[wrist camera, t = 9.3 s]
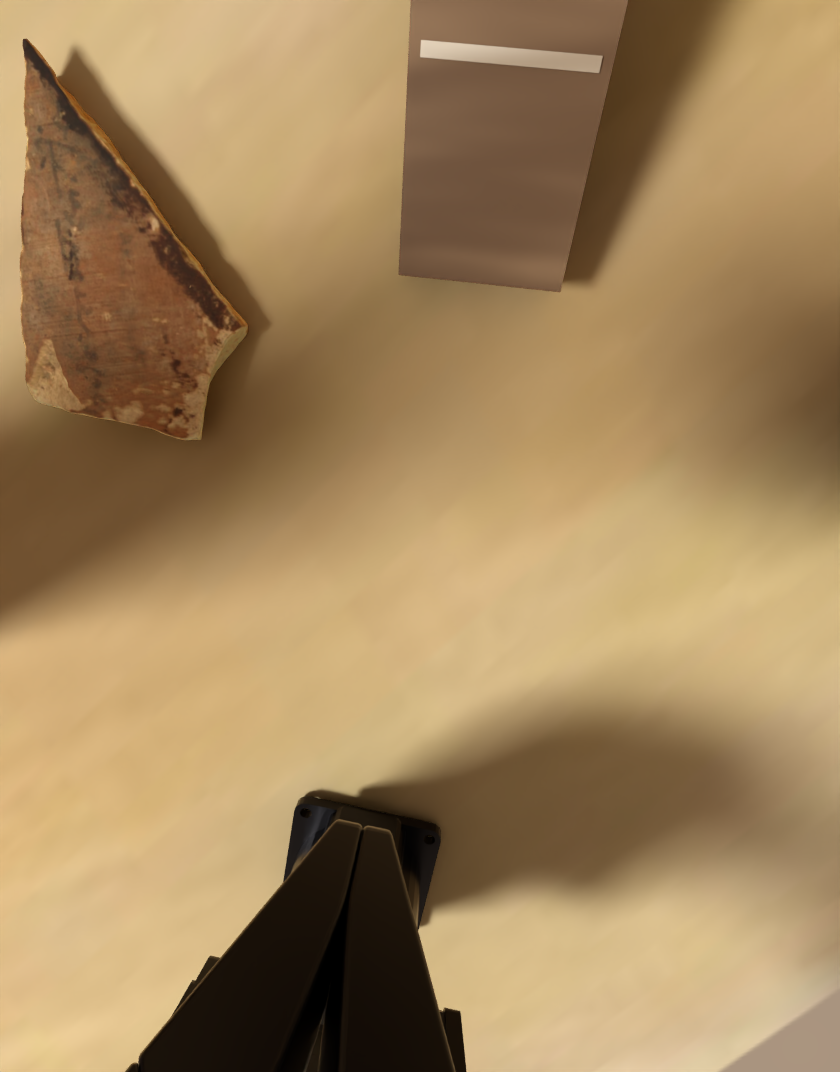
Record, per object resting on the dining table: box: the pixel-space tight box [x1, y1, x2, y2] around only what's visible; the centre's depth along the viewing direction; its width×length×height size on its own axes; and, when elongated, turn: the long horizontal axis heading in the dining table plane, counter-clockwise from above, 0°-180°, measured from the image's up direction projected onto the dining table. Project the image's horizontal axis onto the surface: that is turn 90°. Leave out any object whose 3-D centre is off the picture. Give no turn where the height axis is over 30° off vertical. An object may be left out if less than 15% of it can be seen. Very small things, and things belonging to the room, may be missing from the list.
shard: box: [20, 39, 248, 441], centre depth 16 cm, size 11×8×2 cm
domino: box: [399, 0, 628, 292], centre depth 12 cm, size 2×5×10 cm
